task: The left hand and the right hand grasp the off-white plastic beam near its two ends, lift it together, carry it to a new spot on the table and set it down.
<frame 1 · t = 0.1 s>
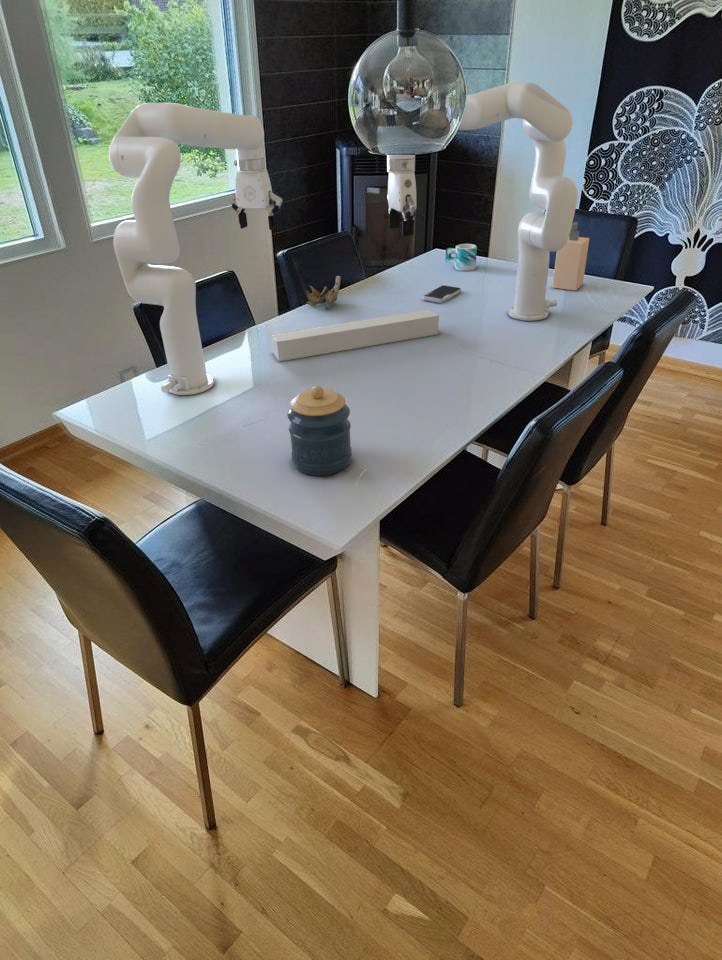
left hand: (258, 228, 199), 31 cm above the table, tool pointing down, fingers open, 9 cm apart
right hand: (400, 231, 190), 31 cm above the table, tool pointing down, fingers open, 9 cm apart
canister: (322, 461, 146), on the table
smartphone: (442, 296, 238), on the table
mug: (460, 267, 267), on the table
jawbone: (327, 304, 235), on the table
beam: (357, 343, 203), on the table
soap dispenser: (565, 288, 241), on the table
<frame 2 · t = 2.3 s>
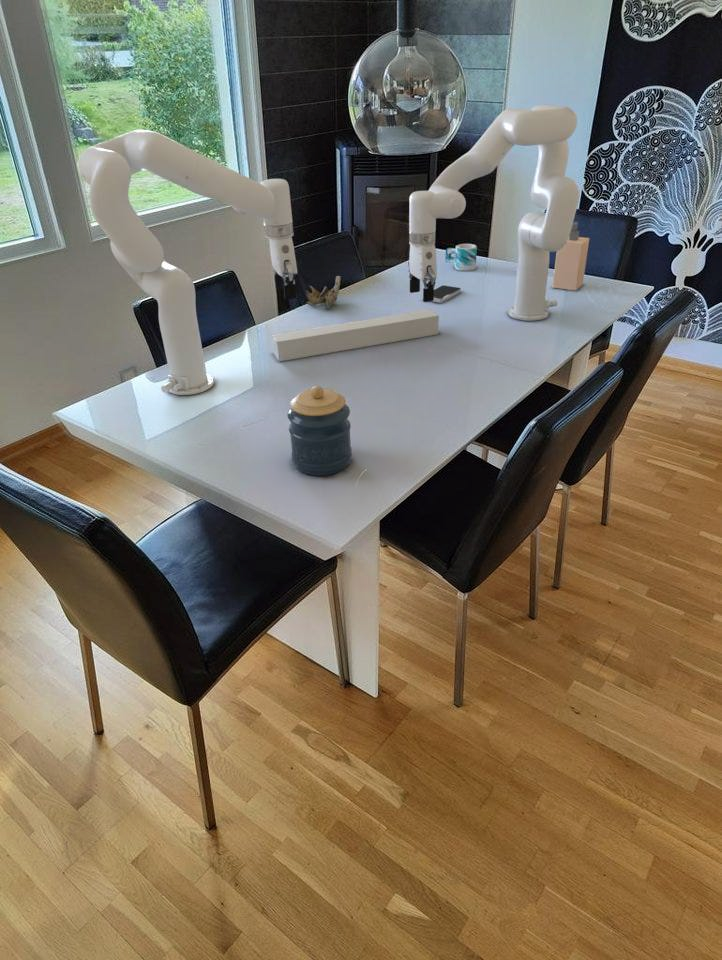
left hand: (286, 293, 187), 18 cm above the table, tool pointing down, fingers open, 9 cm apart
right hand: (421, 296, 202), 12 cm above the table, tool pointing down, fingers open, 9 cm apart
nothing on the table moved.
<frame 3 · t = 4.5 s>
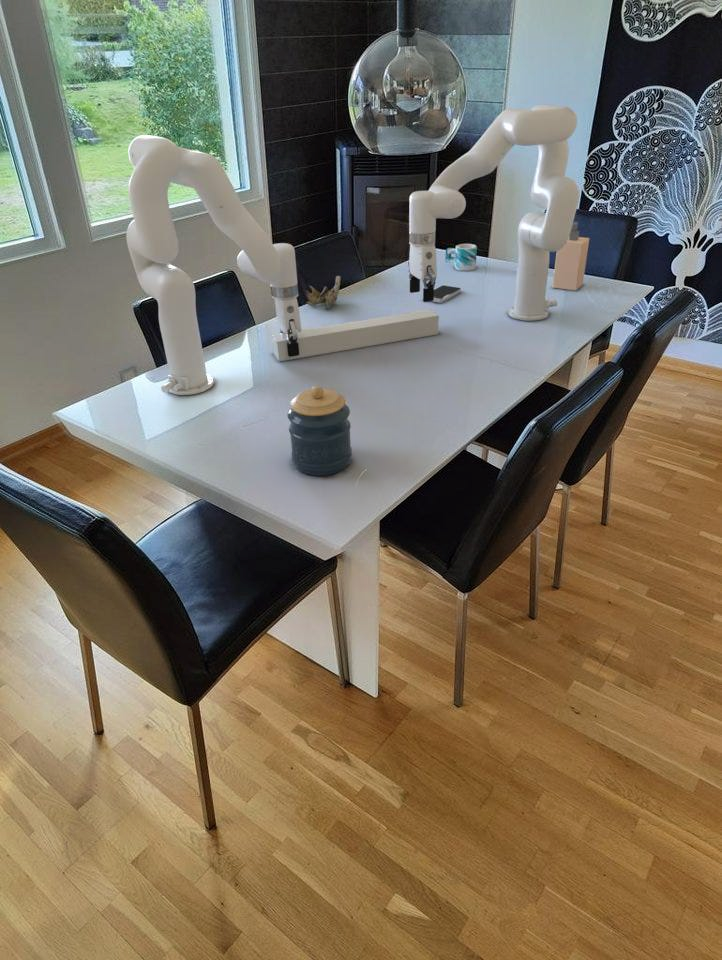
left hand: (290, 350, 196), 1 cm above the table, tool pointing down, fingers closed on beam, 6 cm apart
right hand: (421, 296, 202), 12 cm above the table, tool pointing down, fingers open, 9 cm apart
beam: (357, 343, 203), on the table, touching left hand
everything else where it was.
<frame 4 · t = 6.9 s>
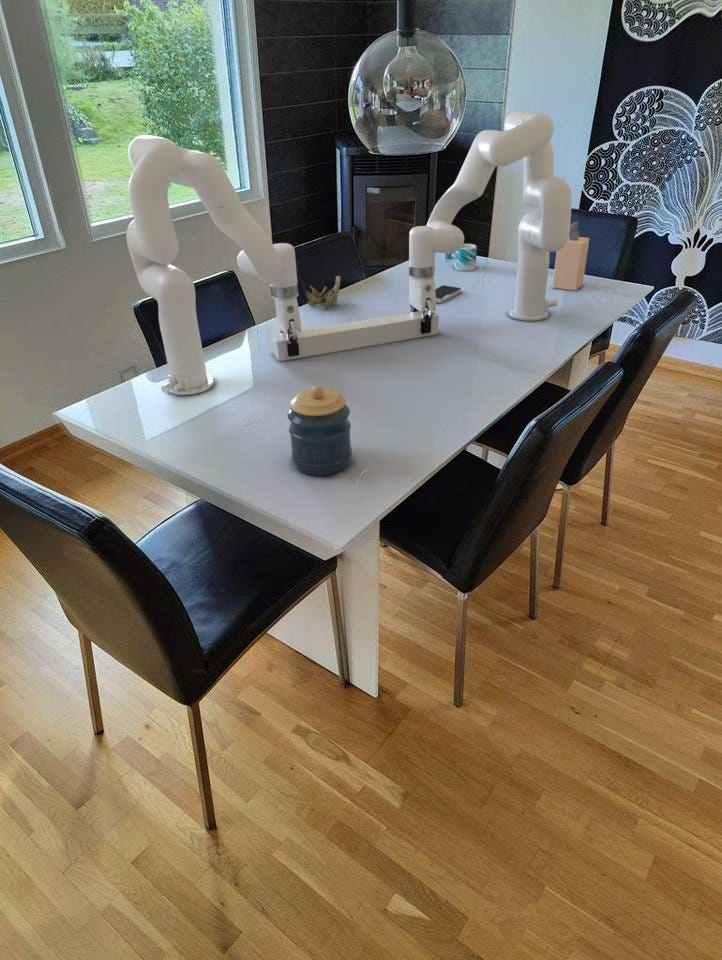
left hand: (290, 350, 196), 1 cm above the table, tool pointing down, fingers closed on beam, 6 cm apart
right hand: (420, 328, 208), 1 cm above the table, tool pointing down, fingers closed on beam, 6 cm apart
beam: (357, 343, 203), on the table, touching left hand, right hand
everything else where it was.
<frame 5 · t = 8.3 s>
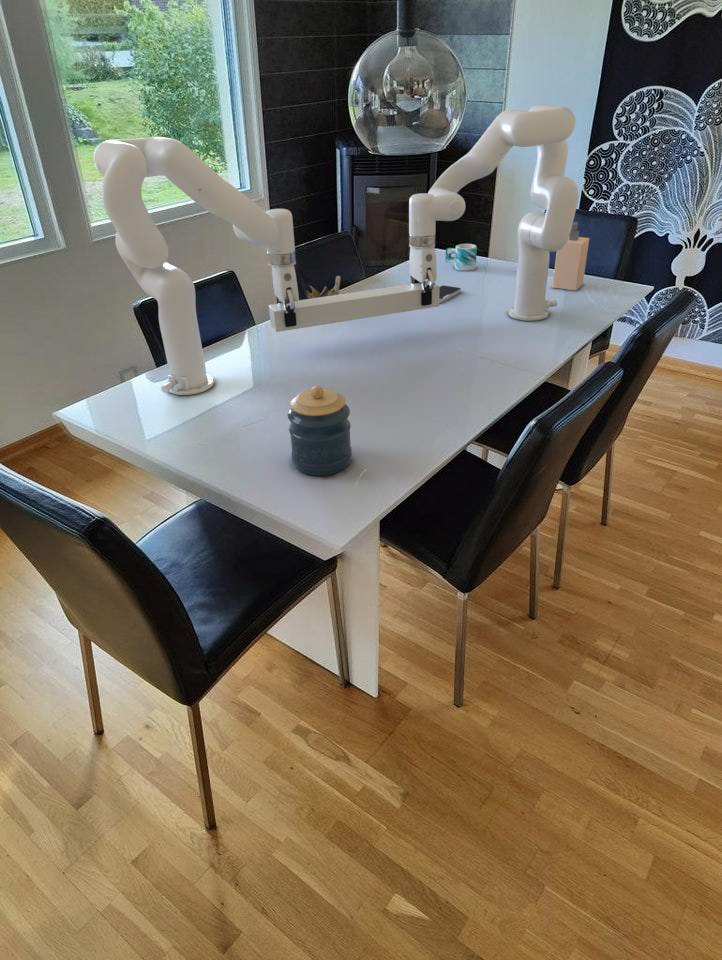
left hand: (287, 321, 191), 10 cm above the table, tool pointing down, fingers closed on beam, 6 cm apart
right hand: (421, 300, 203), 10 cm above the table, tool pointing down, fingers closed on beam, 6 cm apart
beam: (356, 315, 198), point 9 cm above the table, touching left hand, right hand
everything else where it was.
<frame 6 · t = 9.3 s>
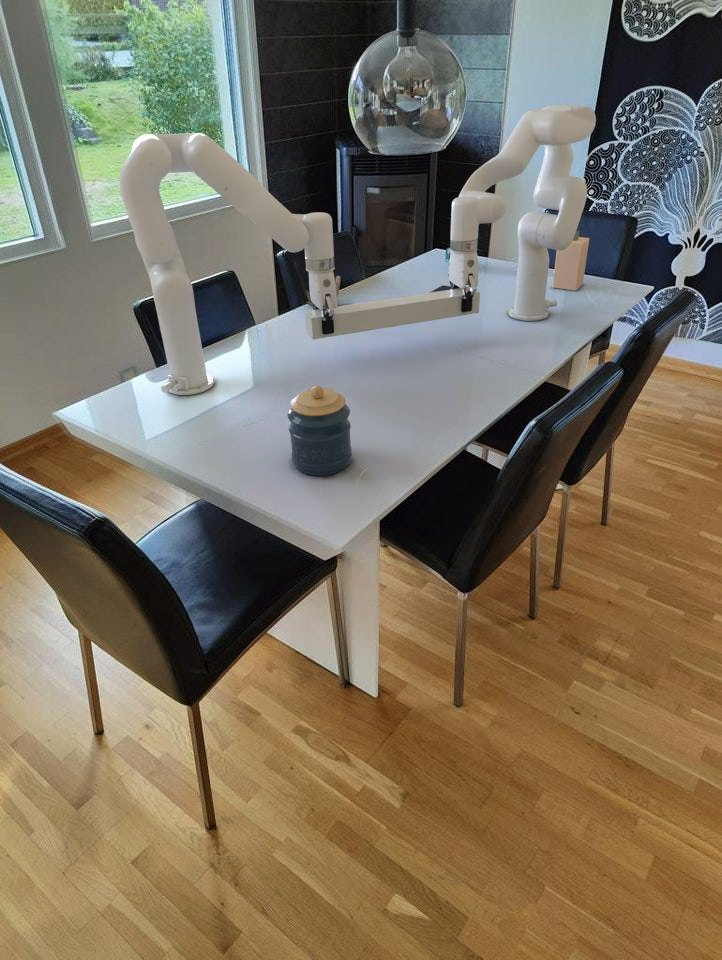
left hand: (324, 328, 185), 10 cm above the table, tool pointing down, fingers closed on beam, 6 cm apart
right hand: (460, 307, 196), 10 cm above the table, tool pointing down, fingers closed on beam, 6 cm apart
beam: (394, 322, 191), point 9 cm above the table, touching left hand, right hand
everything else where it was.
when the left hand's fingers open (2 cm above the table, at t = 12.2 s): beam stays where it is, on the table.
when the right hand's fingers open (2 cm above the table, at t = 12.2 s): beam stays where it is, on the table.
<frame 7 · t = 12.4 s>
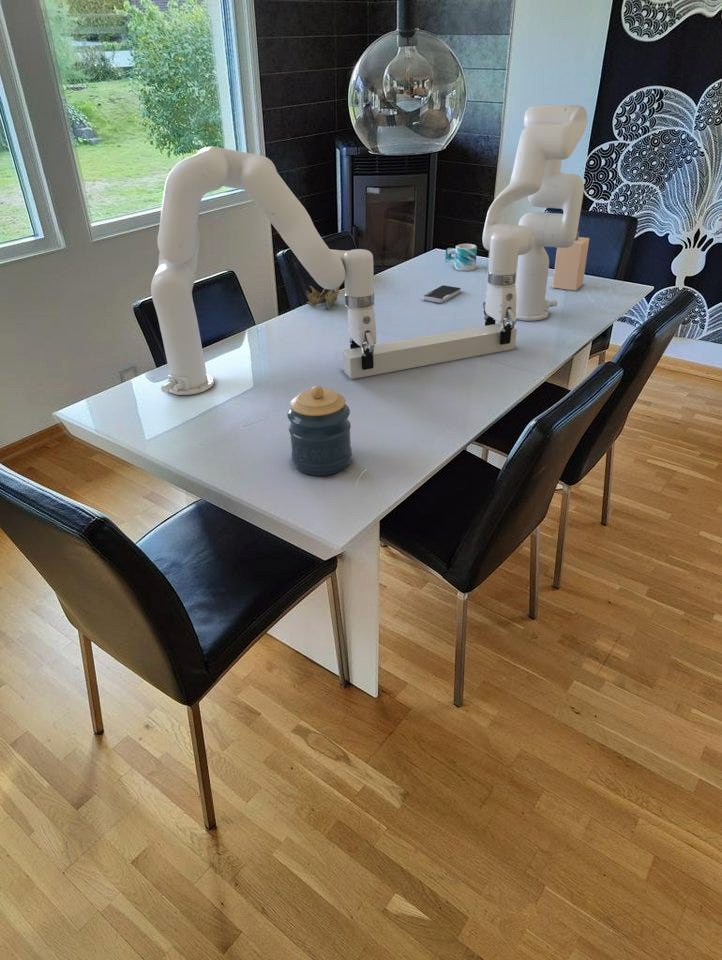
left hand: (361, 362, 183), 3 cm above the table, tool pointing down, fingers open, 8 cm apart
right hand: (497, 338, 195), 3 cm above the table, tool pointing down, fingers open, 8 cm apart
beam: (431, 359, 191), on the table
everything else where it was.
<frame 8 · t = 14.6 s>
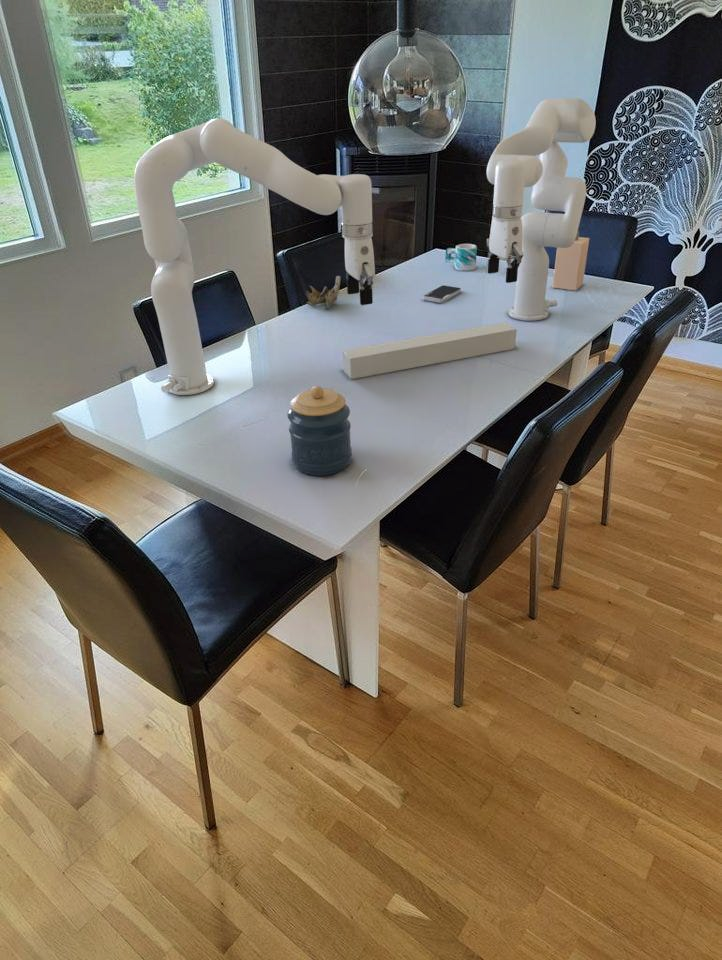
left hand: (359, 298, 174), 21 cm above the table, tool pointing down, fingers open, 9 cm apart
right hand: (501, 277, 185), 21 cm above the table, tool pointing down, fingers open, 9 cm apart
nothing on the table moved.
at the end: beam inside the target area (0.1 cm from its centre), on the table; beam tilted 0°; beam never tilted more than 1° during the clip; both hands held the beam at the same time; the left hand is holding nothing; the right hand is holding nothing; beam at rest at the end (0.0 cm/s) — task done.
